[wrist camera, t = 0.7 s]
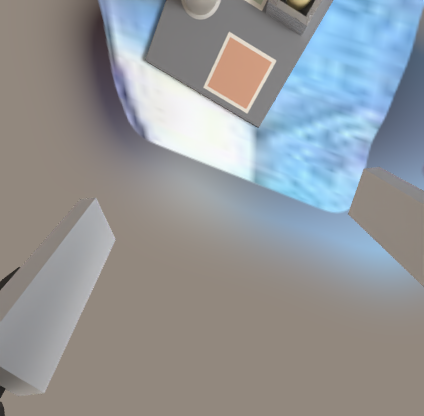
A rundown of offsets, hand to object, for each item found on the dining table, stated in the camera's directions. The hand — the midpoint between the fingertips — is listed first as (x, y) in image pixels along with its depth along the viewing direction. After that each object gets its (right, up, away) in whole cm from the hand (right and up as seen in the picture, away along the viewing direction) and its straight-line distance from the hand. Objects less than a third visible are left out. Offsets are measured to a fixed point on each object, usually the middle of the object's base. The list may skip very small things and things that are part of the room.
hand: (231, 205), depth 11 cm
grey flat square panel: (+2, +21, +15) cm, 26 cm away
